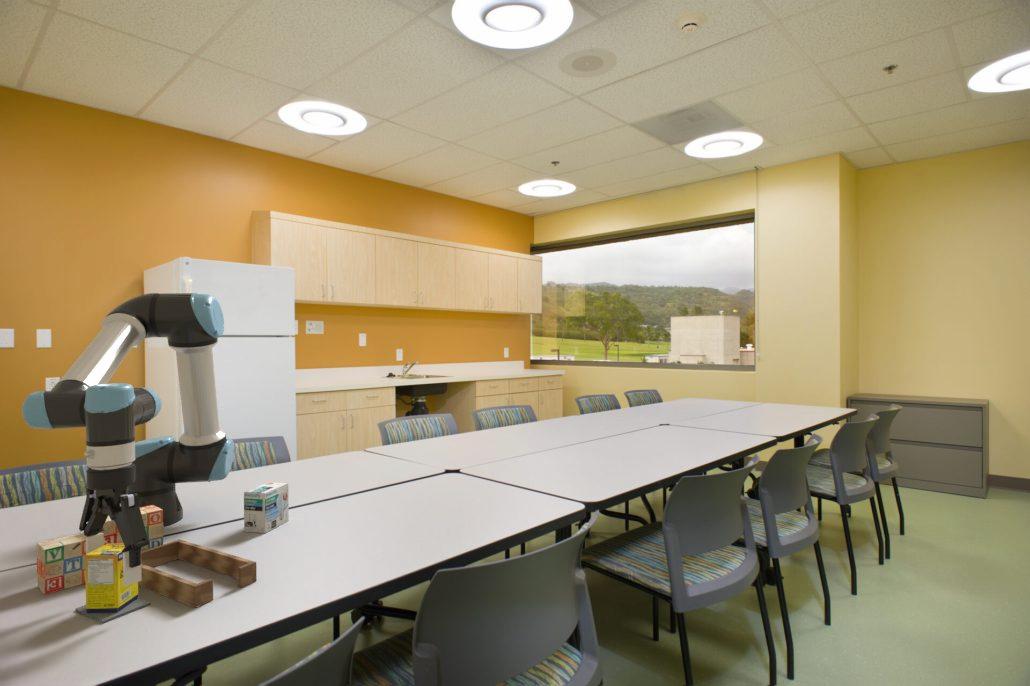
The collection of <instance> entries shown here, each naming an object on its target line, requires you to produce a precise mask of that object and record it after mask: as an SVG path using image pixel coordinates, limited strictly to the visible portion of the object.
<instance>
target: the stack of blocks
mask: <svg viewBox="0 0 1030 686" xmlns="http://www.w3.org/2000/svg"><path fill="white" fill-rule="evenodd" d="M140 511H141V515H142V518H143V522H144V526H145V529H146V533H147V537H148V540H149V544H148V545H146V546H143V547H141V551H144V550H148V549H151V548H154V547H157V546H160V545H163V544H164V526H163V510H162V509H160V508H159V507H156V506H154V505H150V506H145V507H140ZM103 528H104V530H105V531H102V532H99V533H104V545H106V544H123V540H122V538H121V536H120V533H119V531H118V528H117V526H116V523H115V521H114V520H111V519H110V517H109V516H108V517H107V519H106V521H105V523H104V525H103ZM99 533H98V534H99ZM86 537H87V536H85V535H84V532H81V533H77V534H72V535H67V536H63V537H62V536H61V537H57V538H54V539H49V540H44V541H40V542H37V545H36V576H37V577H36V578H37V579H36V580H37V587H38V589H40V591H41V592H42V593H43V594H44V595H47V594H51V593H54V592H58V591H60V590H66V589H69V588H73V587H77V586H79V585H80V586H81V585H84V584H86V574H85V556H86Z"/></svg>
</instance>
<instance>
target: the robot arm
mask: <svg viewBox="0 0 1030 686" xmlns="http://www.w3.org/2000/svg"><path fill="white" fill-rule="evenodd" d="M224 332H225V319H224V314H223V310H222V307H221V304H220V303H219V301H218V300H217V298H216V297H215V296H214V295H211V294H207V293H197V292H193V293H192V292H190V293H189V292H187V293H185V292H184V293H183V292H182V293H179V292H176V293H175V292H174V293H169V292H168V293H166V292H165V293H159V292H150V293H143V294H141V295H137V296H134V297H133V298H130V299H128V300H126V301H124V302H122V303H121V304H119V305H118V306H116V307H115V308H113V309H112V310H110V312H109V313H108V314H107V315H105V317H104V318H103V319H102V321H101V324H100V331H99V332H98V333H97V334H96V336H95V337H94V338H93V339H92V340H91V342H90V343H89V344H88V345H87V347H86V348H85V349H84V350H83V351H82V353H81V354H80V355H79V356H78V358H77V359H76V360H74V362H73V363H72V365H71V366H70V368H68V370H67V371H66V372H65V373H64V374H63V376H62V377H61V378H60V379H59V381H58V382H57V383H56V384H55V385H54V386H53V387H52V388H51V390H41V391H34V392H32V393H30V394H28V396H26V398H25V399H24V402H23V404H22V410H21V412H22V413H21V414H22V417H23V419H24V423H25V424H26V426H28V427H30V428H32V429H42V430H43V429H44V430H45V429H48V430H49V429H50V430H57V429H75V428H77V429H79V428H85V435H86V437H85V438H86V440H85V445H86V451H84V452H83V455H84V457H85V458H86V466H87V467H88V469H87V470H86V487H87V488H86V497H85V502H84V506H83V510H82V515H81V518H80V523H79V528H78V529H79V530H78V531H80V532H83V533H84V535H85V536H87V537H86V554H88V553H90V552H92V551H94V550H96V549H98V548H100V547H102V546H104V533H99V532H102V531H105V530H104V528H103V525H104V523H105V521H106V519H107V517H108V516H109V517H110V519H111V520H114V521H115V523H116V526H117V528H118V531H119V533H120V536H121V538H122V540H123V543H124V545H125V548H124V549H123V550H122V552H123V586H128V585H131V584H134V583H137V582H139V581H142V577H141V547H143V546H146V545H148V544H149V540H148V537H147V533H146V529H145V526H144V522H143V518H142V515H141V511H140V507H145V506H150V505H154V506H156V507H159V508H160V509H162V510H163V527H165V526H169V525H172V524H174V523H178V522H179V521H181V520H182V519H183V518H184V509H183V506H182V503H181V502H180V499H179V496H178V494H177V491H176V484H185V483H187V484H188V483H202V482H203V483H204V482H205V483H207V482H208V483H211V482H214V481H215V482H216V481H222V480H224V479H227V478H228V476H229V473H230V472H231V469H232V465H233V461H234V456H235V455H234V454H235V442H234V440H233V439H232V438H227V433H226V431H225V430H224V429H223V428H220V422H219V413H218V411H219V409H218V402H217V389H216V378H215V369H214V368H215V367H214V366H215V365H214V356H213V355H214V353H213V347H214V346H215V345H216V344H218V339H219V338H220V337H222V336H224V335H223V334H224ZM150 338H167V346H168V347H169V348H171V349H172V350H174V351H175V357H176V367H177V374H178V375H177V376H178V384H179V385H178V386H179V396H180V402H181V403H180V405H181V412H182V413H181V414H182V422H183V424H182V425H183V430H184V432H183V433H182V434H181V436H179V438H178V441H176V440H177V439H176V437H175V436H173V435H166V436H165V435H164V436H160V437H159V436H158V437H153V438H148V439H143V440H139V441H136V437H135V436H136V433H135V432H136V431H135V430H136V429H135V428H136V426H140V425H144V424H145V423H146V424H147V423H148V422H151V420H153V419H154V418H156V417H157V416H158V415H159V413H160V411H161V409H162V399H161V397H160V395H159V394H158V393H157V392H156V391H155V390H154V389H151V388H148V387H134V386H133V385H132V384H130V383H127V382H125V383H124V382H123V383H121V382H119V383H118V382H117V383H109V382H110V380H111V379H112V377H113V376H114V375H115V374H116V372H117V370H118V369H119V367H120V366H121V364H122V363H123V362H124V360H125V359H126V358H127V356H128V355H129V353H130V352H131V351H132V349H133V348H134V347H135V346H138V345H140V344H141V343H142V342H143V341H144V340H145V339H150ZM98 533H99V534H98Z"/></svg>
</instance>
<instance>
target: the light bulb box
mask: <svg viewBox="0 0 1030 686" xmlns="http://www.w3.org/2000/svg"><path fill="white" fill-rule="evenodd" d="M289 505H290V504H289V483H287V482H286V483H285V482H272V481H268V482H266V483H262V484H260V485H258V486H256V487H253V488H251V489H247V490H246V491H244V492H243V524H244V525H243V532H248V533H259V534H266V533H268V532H270V531H272V530H274V529H276V528H278V527H280V526H282V525H283V524H286V523H287V522H289V520H290V519H289V517H290V516H289V515H290V514H289V510H290V508H289Z"/></svg>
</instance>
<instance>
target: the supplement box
mask: <svg viewBox="0 0 1030 686" xmlns="http://www.w3.org/2000/svg"><path fill="white" fill-rule="evenodd" d="M124 548H125V545H124V543H123V544H106V545H104V546H102V547H100V548H98V549H96V550H94V551H92V552H90V553H88V554H86V556H85V574H86V583H85V605H86V612H87V613H89V612H118V611H120V610H121V609H123V608H124V607H125V606H127V605H128V604H130V603H131V602H133V601H134V600H135V599H137V598H139V585H138V582H137V583H134V584H131V585H128V586H123V552H122V550H123V549H124Z"/></svg>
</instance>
